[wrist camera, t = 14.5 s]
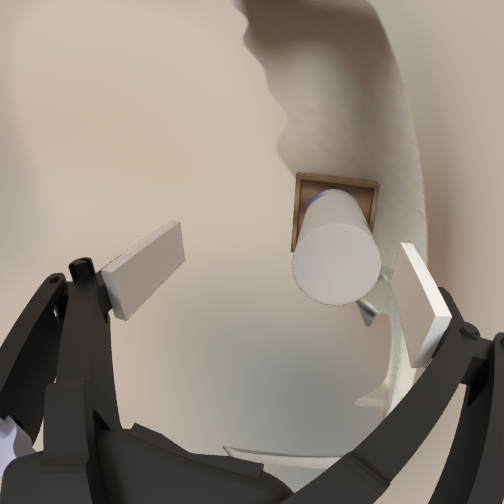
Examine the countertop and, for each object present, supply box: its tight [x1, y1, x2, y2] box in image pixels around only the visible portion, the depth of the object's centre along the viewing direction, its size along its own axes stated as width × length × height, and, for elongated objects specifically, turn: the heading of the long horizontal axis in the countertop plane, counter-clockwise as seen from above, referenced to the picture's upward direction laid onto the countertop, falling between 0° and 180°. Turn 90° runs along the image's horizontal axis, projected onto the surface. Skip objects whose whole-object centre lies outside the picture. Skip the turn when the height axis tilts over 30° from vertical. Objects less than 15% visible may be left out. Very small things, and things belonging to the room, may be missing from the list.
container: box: [292, 189, 381, 305], centre depth 38 cm, size 10×10×20 cm
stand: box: [291, 172, 379, 252], centre depth 46 cm, size 14×14×2 cm
